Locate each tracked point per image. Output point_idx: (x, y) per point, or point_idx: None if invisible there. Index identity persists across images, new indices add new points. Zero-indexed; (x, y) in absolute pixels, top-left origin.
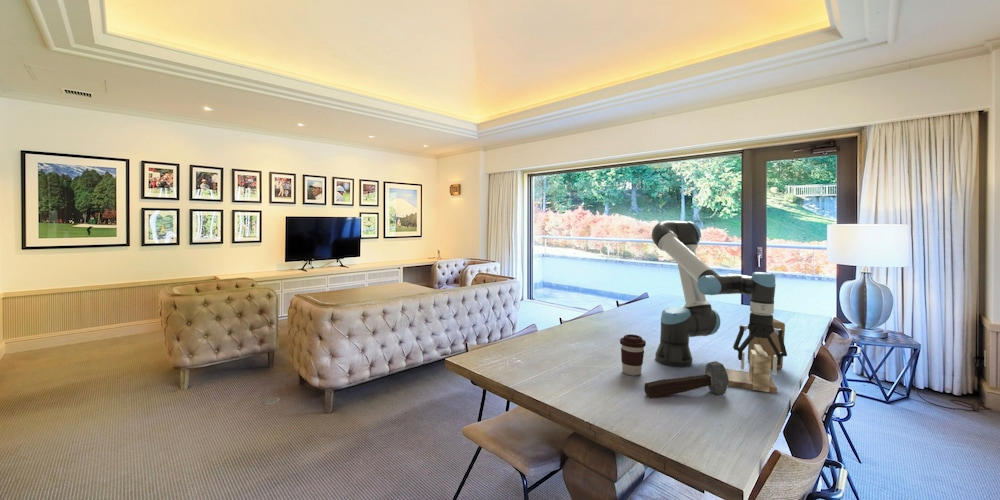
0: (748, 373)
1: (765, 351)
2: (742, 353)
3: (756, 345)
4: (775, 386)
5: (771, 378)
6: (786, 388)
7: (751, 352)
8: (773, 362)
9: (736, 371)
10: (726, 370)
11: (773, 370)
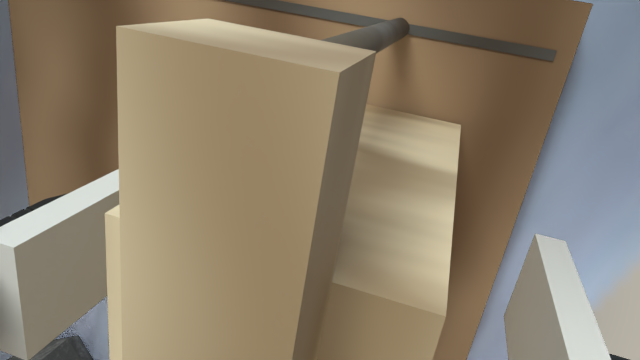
0: (320, 38)
1: (443, 317)
2: (9, 340)
3: (172, 228)
4: (461, 356)
5: (539, 144)
6: (635, 233)
7: (120, 357)
8: (549, 340)
9: (207, 6)
10: (117, 6)
11: (521, 295)
